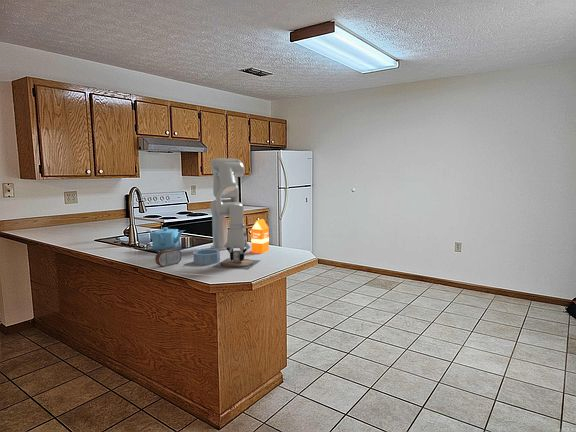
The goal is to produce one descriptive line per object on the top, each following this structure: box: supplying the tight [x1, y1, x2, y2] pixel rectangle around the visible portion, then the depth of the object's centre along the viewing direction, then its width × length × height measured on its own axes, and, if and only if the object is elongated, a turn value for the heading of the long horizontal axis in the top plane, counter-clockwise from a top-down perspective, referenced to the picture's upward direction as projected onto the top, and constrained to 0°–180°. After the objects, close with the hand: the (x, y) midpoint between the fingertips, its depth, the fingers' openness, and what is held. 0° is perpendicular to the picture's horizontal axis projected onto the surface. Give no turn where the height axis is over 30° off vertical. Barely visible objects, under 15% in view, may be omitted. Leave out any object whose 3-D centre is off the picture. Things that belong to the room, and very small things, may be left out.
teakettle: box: [145, 226, 186, 253], centre depth 244 cm, size 19×19×15 cm
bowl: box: [192, 248, 221, 266], centre depth 214 cm, size 14×14×6 cm
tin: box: [154, 248, 183, 267], centre depth 208 cm, size 15×3×8 cm, turn 141°
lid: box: [220, 249, 253, 269], centre depth 209 cm, size 17×17×7 cm
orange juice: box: [250, 218, 270, 254], centre depth 241 cm, size 8×9×20 cm
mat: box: [212, 257, 261, 270], centre depth 209 cm, size 20×20×1 cm
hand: (237, 259), depth 209 cm, fingers open, 4 cm apart
